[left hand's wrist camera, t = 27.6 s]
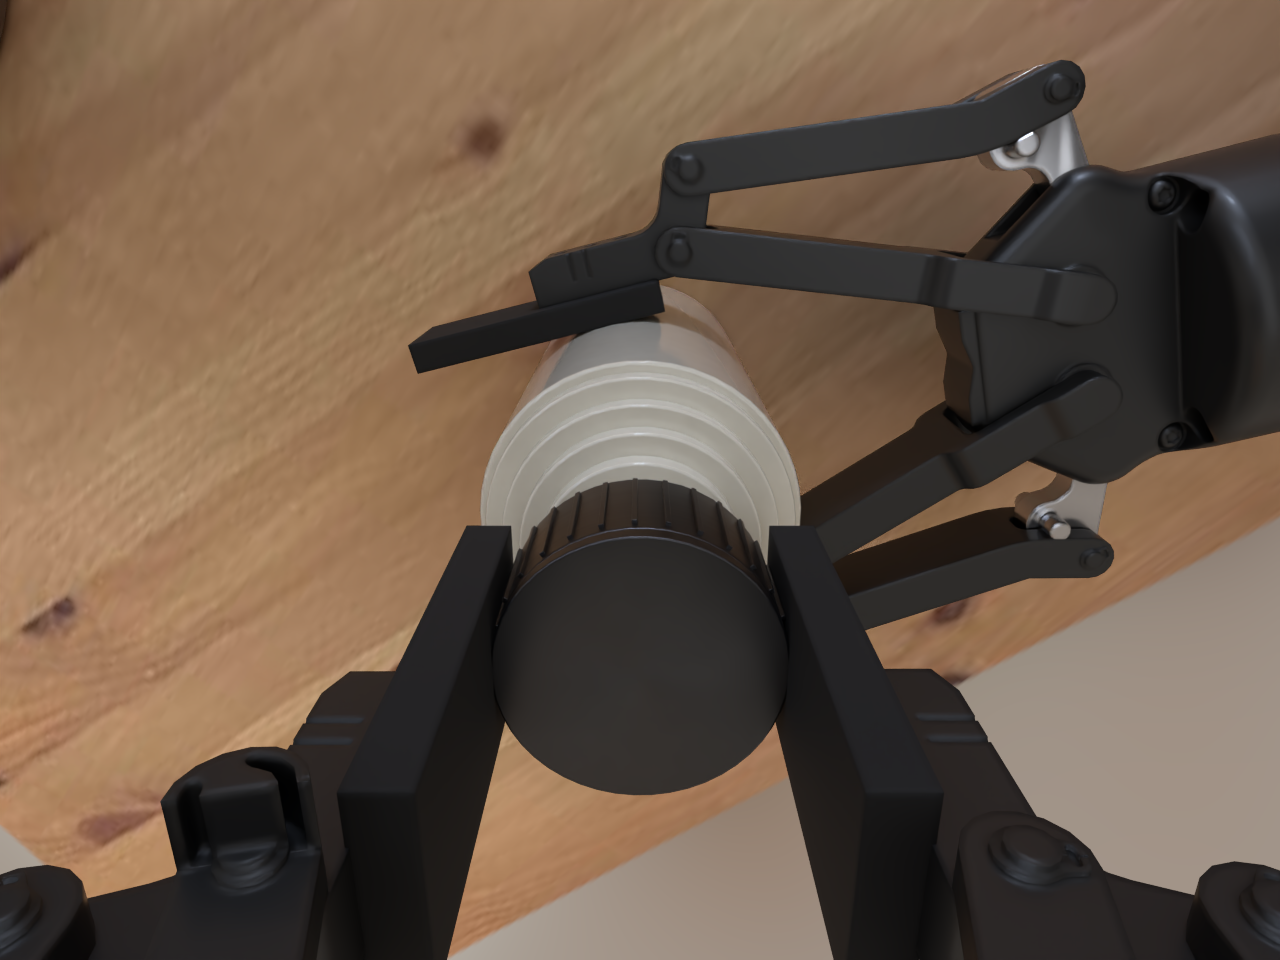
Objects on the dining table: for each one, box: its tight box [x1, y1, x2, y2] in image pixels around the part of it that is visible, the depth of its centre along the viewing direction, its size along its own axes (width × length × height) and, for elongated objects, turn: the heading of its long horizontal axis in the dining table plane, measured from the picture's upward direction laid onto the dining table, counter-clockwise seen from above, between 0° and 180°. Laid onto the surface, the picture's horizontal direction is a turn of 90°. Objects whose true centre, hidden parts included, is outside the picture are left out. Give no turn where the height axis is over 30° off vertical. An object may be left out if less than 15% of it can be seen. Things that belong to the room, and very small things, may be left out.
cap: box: [491, 478, 789, 795], centre depth 14 cm, size 4×4×2 cm
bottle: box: [480, 285, 801, 565], centre depth 21 cm, size 7×7×18 cm
